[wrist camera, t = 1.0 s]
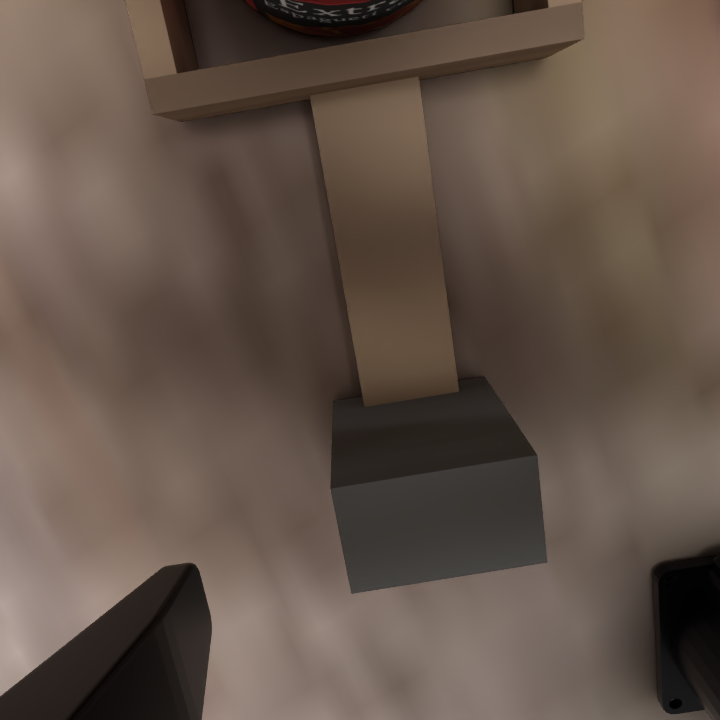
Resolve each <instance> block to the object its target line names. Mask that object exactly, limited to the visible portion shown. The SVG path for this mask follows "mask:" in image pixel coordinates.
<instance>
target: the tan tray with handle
mask: <svg viewBox="0 0 720 720" xmlns="http://www.w3.org/2000/svg"><path fill="white" fill-rule="evenodd" d="M125 2H126V6H127V11H128V15H129V19H130V23H131V27H132V31H133V35H134V39H135V43H136V48H137V52H138V56H139V60H140V64H141V68H142V72H143V76H144V81H145V85H146V89H147V93H148V97H149V101H150V105H151V109H152V114H153V115H157V116H161V117H165V118H169V119H173V120H177V121H181V122H182V121H188V120H194V119H199V118H205V117H211V116H217V115H222V114H228V113H234V112H239V111H245V110H251V109H256V108H262V107H268V106H274V105H279V104H285V103H291V102H296V101H302V100H308V99H310V100H311V105H312V111H313V117H314V123H315V128H316V134H317V140H318V145H319V151H320V157H321V163H322V168H323V174H324V180H325V185H326V191H327V197H328V203H329V208H330V214H331V220H332V225H333V231H334V237H335V243H336V248H337V254H338V260H339V265H340V271H341V277H342V283H343V288H344V294H345V300H346V305H347V311H348V317H349V323H350V328H351V334H352V340H353V345H354V351H355V357H356V363H357V368H358V374H359V380H360V385H361V391H362V397H356V398H350V399H344V400H338V401H333V424H332V459H331V493H332V498H333V503H334V508H335V513H336V518H337V523H338V528H339V533H340V538H341V543H342V548H343V554H344V559H345V564H346V569H347V574H348V579H349V584H350V589H351V594H353V593H359V592H365V591H371V590H378V589H384V588H390V587H396V586H403V585H409V584H415V583H421V582H428V581H434V580H440V579H446V578H453V577H459V576H465V575H471V574H478V573H484V572H490V571H497V570H503V569H509V568H515V567H522V566H528V565H534V564H540V563H547V555H546V544H545V533H544V523H543V512H542V501H541V491H540V480H539V469H538V459H537V454H536V453H535V451H534V450H533V448H532V447H531V445H530V444H529V442H528V441H527V439H526V438H525V436H524V435H523V433H522V432H521V430H520V429H519V427H518V426H517V424H516V423H515V421H514V420H513V418H512V417H511V415H510V414H509V412H508V411H507V410H506V408H505V407H504V405H503V404H502V402H501V401H500V399H499V398H498V396H497V395H496V393H495V392H494V390H493V389H492V387H491V386H490V384H489V383H488V381H487V380H486V378H485V377H484V376H483V377H477V378H471V379H465V380H459V381H458V379H457V371H456V363H455V355H454V347H453V340H452V332H451V324H450V316H449V308H448V301H447V293H446V285H445V277H444V270H443V262H442V254H441V246H440V238H439V231H438V223H437V215H436V207H435V199H434V192H433V184H432V176H431V168H430V160H429V153H428V145H427V137H426V129H425V121H424V114H423V106H422V98H421V90H420V83H419V80H422V79H428V78H433V77H439V76H445V75H450V74H456V73H462V72H468V71H473V70H479V69H485V68H490V67H496V66H502V65H508V64H513V63H519V62H525V61H530V60H536V59H542V58H547V57H549V56H551V55H553V54H555V53H557V52H559V51H561V50H563V49H565V48H567V47H569V46H571V45H573V44H575V43H577V42H578V41H580V40H582V39H584V26H583V9H582V0H513V2H514V14H511V15H506V16H500V17H494V18H489V19H483V20H477V21H472V22H466V23H460V24H455V25H449V26H443V27H438V28H432V29H426V30H421V31H415V32H409V33H404V34H398V35H392V36H387V37H381V38H375V39H370V40H364V41H358V42H353V43H347V44H341V45H336V46H330V47H324V48H319V49H313V50H308V51H302V52H296V53H291V54H285V55H279V56H274V57H268V58H262V59H257V60H251V61H245V62H240V63H234V64H228V65H223V66H217V67H211V68H206V69H200V70H198V66H197V62H196V57H195V53H194V48H193V44H192V39H191V34H190V30H189V25H188V21H187V16H186V12H185V7H184V3H183V0H125Z"/></svg>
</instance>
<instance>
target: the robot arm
mask: <svg viewBox="0 0 720 720" xmlns="http://www.w3.org/2000/svg"><path fill="white" fill-rule="evenodd" d="M671 576H673V578H672V579H671V580H670V581H667V582H666V579H667V578H668V577H671ZM653 589H654V614H655V640H656V666H657V691H658V700H659V702H660V704H661V706H662V707H663V709H664V710H665V711H666V712H667V713H669V714H680V713H686V712H693V711H699V710H706V711H707V713H708V714H709V716H710V717H711V719H712V720H720V555H718V556H712V557H706V558H700V559H693V560H687V561H681V562H675V563H668V564H664V565H661V566H660V567H658V568H657V569H656V571H655V572H654V575H653ZM211 634H212V623H211V615H210V611H209V607H208V603H207V599H206V595H205V591H204V587H203V583H202V579H201V576H200V572H199V570H198V568H197V566H196V565H195V564H193V563H184V564H177V565H170V566H165V567H163V568H161V569H160V570H159V571H158V572H156V573H155V574H154V575H153V576H151V577H150V578H149V579H147V580H146V581H145V582H144V583H142V584H141V585H140V586H139V587H137V588H136V589H135V590H134V591H132V592H131V593H130V594H129V595H127V596H126V597H125V598H124V599H122V600H121V601H120V602H119V603H117V604H116V605H115V606H113V607H112V608H111V609H110V610H108V611H107V612H106V613H105V614H103V615H102V616H101V617H100V618H98V619H97V620H96V621H95V622H93V623H92V624H91V625H90V626H88V627H87V628H86V629H85V630H83V631H82V632H81V633H80V634H78V635H77V636H76V637H74V638H73V639H72V640H71V641H69V642H68V643H67V644H66V645H64V646H63V647H62V648H61V649H59V650H58V651H57V652H56V653H54V654H53V655H52V656H51V657H49V658H48V659H47V660H46V661H44V662H43V663H42V664H40V665H39V666H38V667H37V668H35V669H34V670H33V671H32V672H30V673H29V674H28V675H27V676H25V677H24V678H23V679H22V680H20V681H19V682H18V683H17V684H15V685H14V686H13V687H12V688H10V689H9V690H8V691H6V692H5V693H4V694H3V695H1V696H0V720H202V712H203V704H204V695H205V686H206V678H207V669H208V661H209V652H210V644H211ZM673 699H674V700H673ZM671 700H672V701H671Z"/></svg>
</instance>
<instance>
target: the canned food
mask: <svg viewBox="0 0 720 720" xmlns="http://www.w3.org/2000/svg"><path fill="white" fill-rule="evenodd" d="M245 1H246V2H247V3H248V4H249V5H250V6H251V7H252V8H254V9H255V10H257V11H259V12H260V13H262V14H263V15H265V16H267V17H268V18H270V19H271V20H273V21H275V22H276V23H278V24H281V25H283V26H286V27H289V28H291V29H294V30H297V31H300V32H302V33H306V34H313V35H321V36H328V37H338V36H349V35H360V34H363V33H366V32H369V31H372V30H375V29H378V28H381V27H384V26H387V25H388V24H390V23H392V22H393V21H395V20H397V19H399V18H400V17H402V16H404V15H405V14H407V13H409V12H410V11H411V10H413V9H414V8H415V7H416V6H417V5H418V4H419V3H420V2H421V1H422V0H245Z"/></svg>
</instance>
